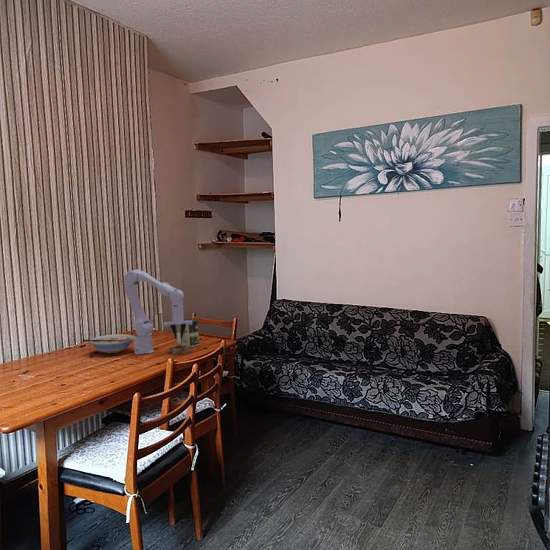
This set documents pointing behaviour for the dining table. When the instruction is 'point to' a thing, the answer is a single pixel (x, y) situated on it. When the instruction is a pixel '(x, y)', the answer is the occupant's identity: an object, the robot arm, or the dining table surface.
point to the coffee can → (190, 334)
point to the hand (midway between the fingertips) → (178, 338)
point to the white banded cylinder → (178, 335)
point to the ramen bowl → (111, 343)
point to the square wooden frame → (179, 349)
